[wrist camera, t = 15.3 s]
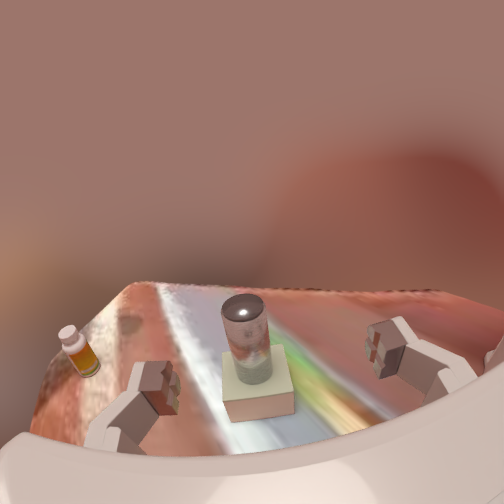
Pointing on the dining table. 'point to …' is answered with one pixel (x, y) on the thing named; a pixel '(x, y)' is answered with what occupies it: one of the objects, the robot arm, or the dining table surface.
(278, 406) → the beige block
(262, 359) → the canister
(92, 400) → the dining table surface
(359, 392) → the dining table surface
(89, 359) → the supplement bottle
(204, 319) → the dining table surface
